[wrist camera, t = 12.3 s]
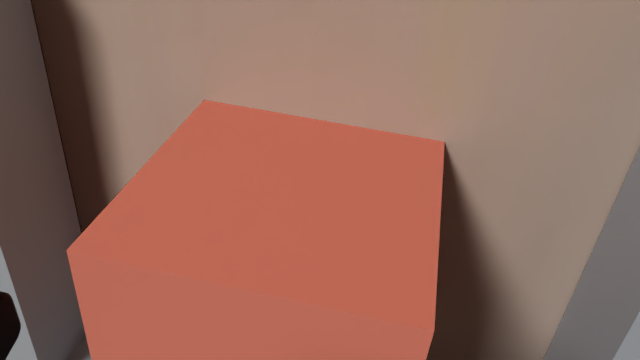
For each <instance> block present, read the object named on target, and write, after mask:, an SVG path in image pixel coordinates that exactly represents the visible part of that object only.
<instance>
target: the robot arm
mask: <svg viewBox="0 0 640 360" xmlns="http://www.w3.org/2000/svg"><path fill="white" fill-rule="evenodd" d="M20 330H21V323H20V319H19V316H18V313H17V311H16V308H15V305H14V302H13V299H12V297H11V295H9V294H8V293H6V292H1V291H0V360H6V358H7V356H8V355H9V353H10V351H11V349H12V347H13V346H14V344H15V342H16V340H17V339H18V336H19V334H20Z"/></svg>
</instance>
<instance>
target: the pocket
mask: <svg viewBox="0 0 640 360" xmlns="http://www.w3.org/2000/svg"><path fill="white" fill-rule="evenodd" d="M80 235H81V230H80V226H79V221H78V216H77V212H76V207H75V203H74V198H73V193H72V189H71V184H70V180H69V175H68V171H67V166H66V161H65V157H64V152H63V148H62V143H61V138H60V134H59V129H58V125H57V120H56V115H55V111H54V106H53V102H52V97H51V92H50V88H49V83H48V79H47V74H46V70H45V65H44V60H43V56H42V51H41V47H40V42H39V37H38V33H37V28H36V24H35V19H34V14H33V10H32V5H31V1H30V0H0V291H1V292H6V293H8V294H9V295H11V297H12V299H13V302H14V305H15V308H16V311H17V313H18V316H19V319H20V323H21V330H20V334H19V336H18V339H17V340H16V342H15V344H14V346H13V347H12V349H11V351H10V353H9V355H8V356H7V358H6V360H91V356H90V352H89V347H88V343H87V338H86V334H85V330H84V325H83V321H82V317H81V312H80V308H79V303H78V299H77V295H76V290H75V286H74V282H73V277H72V273H71V268H70V264H69V260H68V255H67V251H66V250H67V249H68V248H69V247H70V246H71V245H72V244H73V242H74V241H75V240H76V239H77V238H78V237H79V236H80ZM544 360H640V148H639V150H638V152H637V154H636V156H635V159H634V161H633V163H632V165H631V167H630V170H629V172H628V174H627V176H626V178H625V181H624V183H623V185H622V187H621V189H620V192H619V194H618V196H617V198H616V201H615V203H614V205H613V207H612V209H611V212H610V214H609V216H608V218H607V220H606V223H605V225H604V227H603V229H602V231H601V234H600V236H599V238H598V240H597V243H596V245H595V247H594V249H593V251H592V254H591V256H590V258H589V260H588V262H587V265H586V267H585V269H584V271H583V273H582V276H581V278H580V280H579V282H578V285H577V287H576V289H575V291H574V293H573V296H572V298H571V300H570V302H569V304H568V307H567V309H566V311H565V313H564V315H563V318H562V320H561V322H560V324H559V326H558V329H557V331H556V333H555V335H554V338H553V340H552V342H551V344H550V346H549V349H548V351H547V353H546V355H545V357H544Z"/></svg>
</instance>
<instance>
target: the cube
mask: <svg viewBox="0 0 640 360" xmlns="http://www.w3.org/2000/svg"><path fill="white" fill-rule="evenodd" d="M444 145H445V142H442V141H436V140H430V139H425V138H419V137H413V136H407V135H402V134H396V133H390V132H385V131H379V130H373V129H367V128H362V127H356V126H350V125H344V124H339V123H333V122H327V121H322V120H316V119H310V118H304V117H299V116H293V115H287V114H281V113H276V112H270V111H264V110H259V109H253V108H247V107H241V106H236V105H230V104H224V103H218V102H213V101H207V100H204V101H203V102H202V103H201V104H200V105H199V106H198V107H197V108H196V109H195V110H194V112H193V113H192V114H191V115H190V116H189V117H188V118H187V119H186V120H185V121H184V122H183V124H182V125H181V126H180V127H179V128H178V129H177V130H176V131H175V132H174V133H173V134H172V136H171V137H170V138H169V139H168V140H167V141H166V142H165V143H164V144H163V145H162V146H161V148H160V149H159V150H158V151H157V152H156V153H155V154H154V155H153V156H152V157H151V158H150V160H149V161H148V162H147V163H146V164H145V165H144V166H143V167H142V168H141V169H140V170H139V172H138V173H137V174H136V175H135V176H134V177H133V178H132V179H131V180H130V181H129V182H128V184H127V185H126V186H125V187H124V188H123V189H122V190H121V191H120V192H119V193H118V194H117V196H116V197H115V198H114V199H113V200H112V201H111V202H110V203H109V204H108V205H107V206H106V208H105V209H104V210H103V211H102V212H101V213H100V214H99V215H98V216H97V217H96V218H95V220H94V221H93V222H92V223H91V224H90V225H89V226H88V227H87V228H86V229H85V230H84V232H83V233H82V234H81V235H80V236H79V237H78V238H77V239H76V240H75V241H74V242H73V244H72V245H71V246H70V247H69V248H68V249H67V250H66V251H67V255H68V260H69V264H70V268H71V273H72V277H73V282H74V286H75V290H76V295H77V299H78V303H79V308H80V312H81V317H82V321H83V325H84V330H85V334H86V338H87V343H88V347H89V352H90V356H91V360H426V358H427V355H428V351H429V348H430V344H431V341H432V338H433V334H434V329H435V311H436V292H437V274H438V255H439V237H440V218H441V200H442V182H443V163H444Z"/></svg>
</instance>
